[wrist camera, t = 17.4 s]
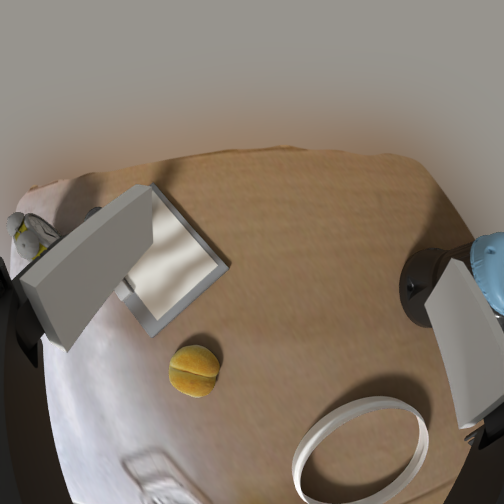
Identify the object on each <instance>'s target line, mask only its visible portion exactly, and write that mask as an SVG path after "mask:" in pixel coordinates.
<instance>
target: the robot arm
mask: <svg viewBox="0 0 504 504" xmlns="http://www.w3.org/2000/svg"><path fill="white" fill-rule="evenodd" d="M152 244H153V222H152V187H151V186H145V185H138V184H136V185H135V186H133V187H132V188H130V189H129V190H127V191H126V192H124V193H123V194H121V195H120V196H119V197H117V198H116V199H114V200H113V201H111V202H110V203H109V204H107V205H106V206H105V207H103V208H102V209H101V210H99V211H98V212H97V213H95V214H94V215H93V216H91V217H90V218H89V219H87V220H86V221H85V222H83V223H82V224H81V225H80V226H78V227H77V228H76V229H75V230H73V231H72V232H71V233H69V234H67V235H65V236H63V237H61V238H59V239H57V240H56V241H55V242H53V243H52V244H51V245H50V246H49V247H47V250H46V249H45V250H44V251H43V252H42V253H41V254H40V256H37V257H36V258H35V259H34V260H33V261H32V262H31V263H30V264H28V265H27V266H26V267H25V268H24V269H23V270H22V271H21V272H20V273H19V274H18V275H17V276H16V277H15V278H14V279H13V280H12V281H11V278H10V276H9V274H8V271H7V268H6V266H5V263H4V261H3V259H2V257H0V504H73V503H72V500H71V497H70V495H69V492H68V489H67V486H66V483H65V480H64V476H63V473H62V470H61V466H60V463H59V459H58V455H57V451H56V447H55V442H54V438H53V433H52V428H51V422H50V416H49V410H48V403H47V395H46V386H45V375H44V360H43V344H42V340H41V339H40V338H41V336H42V335H43V334H44V333H45V334H46V336H47V338H48V339H49V341H50V343H51V344H52V345H54V346H55V347H57V348H59V349H61V350H62V351H64V352H66V353H68V351H69V350H70V349H71V347H72V346H73V344H74V343H75V341H76V340H77V339H78V337H79V336H80V334H81V333H82V332H83V330H84V329H85V327H86V326H87V325H88V323H89V322H90V321H91V319H92V318H93V317H94V315H95V314H96V313H97V311H98V310H99V309H100V307H101V306H102V305H103V303H104V302H105V301H106V300H107V298H108V297H109V296H110V295H111V293H112V292H113V291H114V289H115V288H116V287H117V286H118V284H119V283H120V282H121V281H122V280H123V278H124V277H125V276H126V275H127V273H128V272H129V271H130V270H131V269H132V267H133V266H134V265H135V264H136V263H137V261H138V260H139V259H140V258H141V257H142V256H143V254H144V253H145V252H146V251H147V250H148V249H149V247H150V246H151V245H152ZM399 293H400V300H401V304H402V306H403V309H404V311H405V313H406V314H407V316H408V317H409V318H410V320H411V321H412V322H414V323H415V324H417V325H418V326H421V327H425V328H433V330H434V333H435V336H436V339H437V342H438V345H439V348H440V351H441V355H442V358H443V362H444V365H445V369H446V372H447V376H448V380H449V384H450V388H451V392H452V396H453V401H454V405H455V410H456V415H457V421H458V426H459V429H462V428H468V427H472V426H474V425H475V424H476V423H478V422H479V421H481V420H482V419H483V418H484V423H485V424H483V425H482V426H481V427H479V428H478V429H476V430H475V431H473V432H472V433H471V434H469V435H467V436H466V438H465V439H464V440H465V441H467V440H468V439H470V438H471V437H475V438H474V439H472V440H470V441H469V442H468V444H470V445H471V446H472V447H471V449H470V451H469V454H468V456H467V458H466V461H465V463H464V465H463V467H462V469H461V471H460V473H459V475H458V477H457V479H456V481H455V483H454V485H453V487H452V489H451V491H450V493H449V494H448V496H447V498H446V500H445V501H444V503H443V504H504V232H497V233H494V234H491V235H483V236H480V237H479V238H477V239H476V240H475V241H473V242H470V243H467V244H465V245H462V246H459V247H457V248H454V249H451V250H442V249H439V248H428V249H424V250H422V251H419V252H417V253H415V254H414V255H413V256H412V257H411V258H410V259H409V260H408V261H407V262H406V264H405V266H404V268H403V270H402V273H401V277H400V284H399Z"/></svg>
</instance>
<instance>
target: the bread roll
mask: <svg viewBox="0 0 504 504" xmlns="http://www.w3.org/2000/svg"><path fill="white" fill-rule="evenodd" d="M219 369H220V365H219V362H218V360H217V359H216V357H215V356H214V354H213V353H212V352H210V351H209V350H208V349H207V348H205V347H203V346H200V345H191V346H185V347H183V348H181V349H179V350H178V351H177V352H176V353H175V354H174V355H173V356H172V358H171V361H170V366H169V379H170V382H171V384H172V385H173V386H174V387H175V388H176V389H178V390H179V391H180V392H182V393H184V394H187V395H189V396H192V397H196V398H200V397H201V396H205V395H207V394H209V393H210V392H211V391H212V389H213V388H214V386H215V381H216V375H217V374H218V372H219Z"/></svg>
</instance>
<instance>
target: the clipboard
mask: <svg viewBox="0 0 504 504" xmlns="http://www.w3.org/2000/svg"><path fill="white" fill-rule="evenodd" d="M150 186H151V187H152V222H153V244H152V245H151V246H150V247H149V249H148V250H147V251H146V252H145V253H144V254H143V256H142V257H141V258H140V259H139V260H138V261H137V263H136V264H135V265H134V266H133V267H132V269H131V270H130V271H129V272H128V273H127V275H126V276H125V277H124V278H123V280H122V281H121V282H120V283H119V284H118V286H117V287H116V288H115V289H114V291H115V293H116V294H117V296H118V297H119V299H120V300H121V301H123V302H124V303H125V304H126V306H127V307H128V308H129V310H130V311H131V312H132V314H133V315H134V316H135V318H136V319H137V320H138V322H139V323H140V324H141V326H142V327H143V328H144V330H145V331H146V332H147V333H148V335H149V336H150V337H151V338H154V337H155V336H156V335H157V334H158V333H159V332H160V331H161V330H162V329H164V328H165V327H166V326H167V325H168V324H169V323H170V322H171V321H172V320H173V319H175V318H176V317H177V316H178V315H179V314H180V313H181V312H182V311H183V310H185V309H186V308H187V307H188V306H189V305H190V304H191V303H192V302H193V301H194V300H196V299H197V298H198V297H199V296H200V295H201V294H202V293H203V292H204V291H205V290H207V289H208V288H209V287H210V286H211V285H212V284H213V283H214V282H215V281H217V280H218V279H219V278H220V277H221V276H222V275H223V274H224V273H225V272H227V271H228V270H229V268H228V267H227V266H226V265H225V264H224V262H223V261H222V260H221V259H220V258H219V257H218V256H217V255H216V254H215V252H214V251H213V250H212V249H211V248H210V247H209V246H208V245H207V243H206V242H205V241H204V240H203V239H202V238H201V237H200V236H199V235H198V233H197V232H196V231H195V230H194V229H193V228H192V227H191V225H190V224H189V223H188V222H187V221H186V220H185V219H184V217H183V216H182V215H181V214H180V213H179V212H178V211H177V209H176V208H175V207H174V206H173V205H172V204H171V203H170V201H169V200H168V199H167V198H166V197H165V196H164V194H163V193H162V192H161V191H160V190H159V189H158V187H157V186H156V185H155V184H154V183H152V184H151V185H150Z"/></svg>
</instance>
